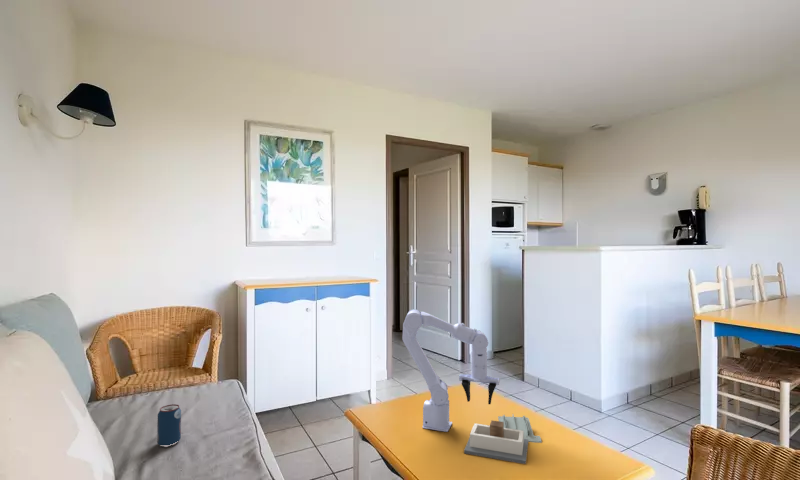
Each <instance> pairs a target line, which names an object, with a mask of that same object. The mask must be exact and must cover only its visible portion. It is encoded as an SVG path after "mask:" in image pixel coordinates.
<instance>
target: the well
mask: <svg viewBox="0 0 800 480" xmlns="http://www.w3.org/2000/svg"><path fill="white" fill-rule="evenodd" d="M528 446H529V442H528V439H524V431H522V430H516V429H509V428H504V438H501V437H495V436H490V424H489V425H488V424H482V423H476V422H475V423H473V426H472V428H471V431H470V433H469V438H468V441H467V443H466V445H465V447H464V449H463V451H464V452H463V454H467V455H472V456H477V457H484V458H489V459H495V460H501V461H506V462H512V463H516V464H523V465H526V464H527V459H528V457H527V456H528V449H529V447H528Z"/></svg>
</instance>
